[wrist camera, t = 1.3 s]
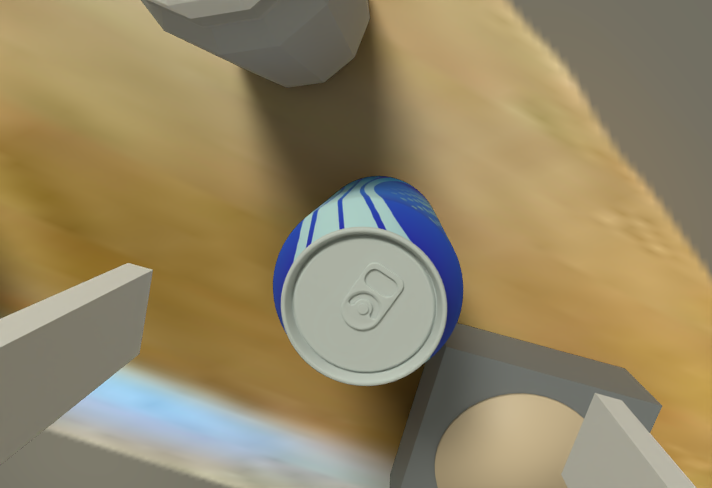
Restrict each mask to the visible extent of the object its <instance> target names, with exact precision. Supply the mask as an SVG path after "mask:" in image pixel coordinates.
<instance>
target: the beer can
mask: <svg viewBox="0 0 712 488" xmlns="http://www.w3.org/2000/svg"><path fill="white" fill-rule="evenodd" d="M273 294H274V302H275V307H276V310H277V314H278V317H279V319H280V322H281V324H282V326H283V328H284V330H285V332H286V334H287V336H288V338H289V340H290V342H291V344H292V345H293V347H294V348H295V350H296V351H297V352H298V354H299V355H300V356H301V357H302V358H303V359H304V360H305V361H306V362H307V363H308V364H309V365H310V366H311V367H312V368H314V369H315V370H317V371H318V372H320V373H321V374H323V375H325V376H327V377H329V378H331V379H333V380H336V381H339V382H342V383H346V384H351V385H358V386H375V385H382V384H387V383H390V382H394V381H396V380H399V379H401V378H403V377H405V376H407V375H409V374H411V373H412V372H414V371H415V370H416V369H418V368H419V367H420V366H421V365H422V364H424V363H425V362H427V361H428V360H429V359H431V358H432V357H433V356H434V355H435V354H436V353H437V352H438V351H439V350H440V349H441V348H442V346H443V345H444V344H445V343H446V341H447V340H448V339H449V337H450V335H451V334H452V332H453V330H454V328H455V326H456V323H457V321H458V318H459V315H460V312H461V307H462V300H463V280H462V273H461V268H460V264H459V261H458V258H457V256H456V253H455V251H454V249H453V247H452V245H451V243H450V241H449V239H448V237H447V235H446V233H445V232H444V230H443V228H442V226H441V224H440V222H439V220H438V218H437V216H436V214H435V212H434V210H433V209H432V207H431V205H430V203H429V202H428V201H427V199H426V198H425V197H424V196H423V195H422V194H421V193H420V192H419V191H418V190H417V189H415V188H414V187H413V186H411V185H409V184H408V183H406V182H404V181H401V180H398V179H395V178H391V177H385V176H371V177H365V178H361V179H358V180H355V181H353V182H351V183H349V184H347V185H346V186H344V187H343V188H341V189H340V190H339V191H338V192H336V193H335V194H334V195H333V196H331V197H330V198H329V199H328V200H326V201H325V202H324V203H323V204H322V205H320V206H319V207H318V208H317V209H315V210H314V211H313V212H312V213H310V214H309V215H308V216H307V217H306V218H304V219H303V220H302V221H301V222H300V223H299V224H298V225H297V226H296V227H295V229H294V230H293V231H292V232H291V234H290V235H289V236H288V238H287V240H286V241H285V243H284V245H283V247H282V249H281V251H280V253H279V256H278V259H277V262H276V266H275V271H274V278H273Z"/></svg>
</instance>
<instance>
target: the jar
mask: <svg viewBox="0 0 712 488" xmlns="http://www.w3.org/2000/svg"><path fill="white" fill-rule="evenodd" d="M141 1H142V2H143V4H144V5H145V6H146V8H147V9H148V10H149V11H150V13H151V14H152V15H153V17H154V18H155V19H156V21H157V22H158V23H159V25H160V26H161V27H162V28H163V30H164V31H166V32H168V33H170V34H172V35H174V36H176V37H179V38H181V39H183V40H185V41H187V42H189V43H191V44H193V45H195V46H197V47H199V48H202V49H204V50H206V51H208V52H210V53H212V54H214V55H216V56H218V57H220V58H223V59H225V60H227V61H229V62H231V63H233V64H235V65H237V66H239V67H241V68H243V69H246V70H248V71H250V72H252V73H254V74H256V75H259V76H261V77H263V78H266V79H268V80H270V81H273V82H275V83H277V84H279V85H282V86H284V87H286V88H289V87H296V86H303V85H310V84H317V83H324V82H325V81H327V80H328V79H329V78H330V77H331V76H333V75H334V74H335V73H336V72H338V71H339V70H340V69H341V68H342V67H344V66H345V65H346V64H347V63H348V62H350V61H351V60H352V59H353V58H355V55H356V53H357V50H358V48H359V45H360V43H361V40H362V37H363V35H364V32H365V30H366V27H367V25H368V22H369V20H370V14H369V5H368V0H141Z"/></svg>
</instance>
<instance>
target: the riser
mask: <svg viewBox="0 0 712 488" xmlns="http://www.w3.org/2000/svg"><path fill="white" fill-rule="evenodd" d="M595 393H597V394H601V395H604V396H608V397H612V398H615V399H619V400H622V401H623V402H624V404H625V405H626V406H627V407H628V408H629V409H630V411H631V412H632V413H633V414H634V415H635V416H636V418H637V419H638V420H639V421H640V422H641V423H642V425H643V426H644V427H645V428H646V429H647V430H648V432H649V433H650V432H651V429H652V427H653V425H654V423H655V421H656V418H657V416H658V414H659V412H660V410H661V407H662V405H661V404H660V403H659V402H658V401H657V400H656V399H655V398H654V397H653V396H652V395H651V394H650V393H649V392H648V391H647V390H646V389H645V388H644V387H643V386H642V385H641V384H640V383H639V382H638V381H637V380H636V379H635V378H634V377H633V376H632V375H631V374H630V373H629V372H628V371H627V370H626V369H624V368H621V367H617V366H613V365H610V364H606V363H602V362H599V361H595V360H591V359H588V358H584V357H580V356H577V355H573V354H569V353H566V352H562V351H558V350H555V349H551V348H547V347H544V346H540V345H536V344H533V343H529V342H525V341H522V340H518V339H514V338H511V337H507V336H503V335H500V334H496V333H492V332H489V331H485V330H481V329H478V328H474V327H470V326H467V325H463V324H459V323H456V326H455V328H454V330H453V332H452V334H451V335H450V337H449V339H448V340H447V341H446V343H445V344H444V345H443V346H442V348H441V349H440V350H439V351H438V352H437V353H436V354H435V355H434V356H433V357H432V358H431V359H429V360H428V361H427V362H426V363H425V366H424V369H423V372H422V376H421V379H420V382H419V385H418V388H417V391H416V395H415V398H414V401H413V404H412V407H411V410H410V414H409V417H408V420H407V423H406V426H405V429H404V433H403V436H402V439H401V442H400V445H399V448H398V452H397V455H396V458H395V461H394V464H393V467H392V471H391V474H390V488H567V486H566V483H565V481H564V479H563V477H562V475H561V473H562V471H563V469H564V466H565V464H566V461H567V459H568V456H569V454H570V452H571V449H572V447H573V444H574V442H575V440H576V437H577V435H578V432H579V430H580V428H581V425H582V423H583V420H584V418H585V416H586V413H587V411H588V408H589V406H590V403H591V401H592V399H593V396H594V394H595Z"/></svg>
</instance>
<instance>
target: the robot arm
mask: <svg viewBox="0 0 712 488" xmlns="http://www.w3.org/2000/svg"><path fill="white" fill-rule="evenodd" d="M152 272H153V270H151V269H148V268H144V267H141V266H137V265H134V264H130V263H127V264H125V265H122V266H120V267H118V268H115V269H113V270H111V271H109V272H106V273H104V274H102V275H99V276H97V277H95V278H93V279H90V280H88V281H86V282H83V283H81V284H79V285H77V286H74V287H72V288H70V289H67V290H65V291H63V292H61V293H58V294H56V295H54V296H51V297H49V298H47V299H45V300H42V301H40V302H38V303H35V304H33V305H31V306H29V307H26V308H24V309H22V310H19V311H17V312H15V313H13V314H10V315H8V316H6V317H3V318H1V319H0V465H1V464H3V463H4V462H5V461H6V460H8V459H9V458H10V457H11V456H13V455H14V454H15V453H16V452H18V451H19V450H20V449H21V448H23V447H24V446H25V445H26V444H27V443H29V442H30V441H31V440H32V439H34V438H35V437H36V436H37V435H38V434H40V433H41V432H42V431H44V430H45V429H46V428H47V427H49V426H50V425H51V424H52V423H54V422H55V421H56V420H57V419H59V418H60V417H61V416H62V415H64V414H65V413H66V412H67V411H69V410H70V409H71V408H72V407H74V406H75V405H76V404H77V403H79V402H80V401H81V400H82V399H84V398H85V397H86V396H87V395H89V394H90V393H91V392H92V391H94V390H95V389H96V388H97V387H99V386H100V385H101V384H102V383H104V382H105V381H106V380H107V379H109V378H110V377H111V376H112V375H114V374H115V373H116V372H117V371H119V370H120V369H121V368H122V367H124V366H125V365H126V364H127V363H129V362H130V361H131V360H132V359H134V358H135V357H136V356H137V355H139V353H140V347H141V341H142V334H143V328H144V322H145V316H146V309H147V303H148V297H149V291H150V284H151V278H152ZM561 475H562V477H563V479H564V481H565V483H566V486H567V488H696V487H695V486H694V484H693V483H692V482H691V481H690V480H689V479H688V477H687V476H686V475H685V474H684V473H683V472H682V470H681V469H680V468H679V467H678V466H677V464H676V463H675V462H674V461H673V460H672V459H671V457H670V456H669V455H668V454H667V453H666V452H665V450H664V449H663V448H662V447H661V446H660V445H659V443H658V442H657V441H656V440H655V439H654V438H653V436H652V435H651V434H650V433H649V432H648V430H647V429H646V428H645V427H644V426H643V425H642V423H641V422H640V421H639V420H638V419H637V418H636V416H635V415H634V414H633V413H632V412H631V411H630V409H629V408H628V407H627V406H626V405H625V404H624V402H623V401H622V400H619V399H615V398H612V397H608V396H604V395H601V394H597V393H595V394H594V396H593V399H592V401H591V403H590V406H589V408H588V411H587V413H586V416H585V418H584V420H583V423H582V425H581V428H580V430H579V432H578V435H577V437H576V440H575V442H574V444H573V447H572V449H571V452H570V454H569V456H568V459H567V461H566V464H565V466H564V469H563V471H562V473H561Z"/></svg>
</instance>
